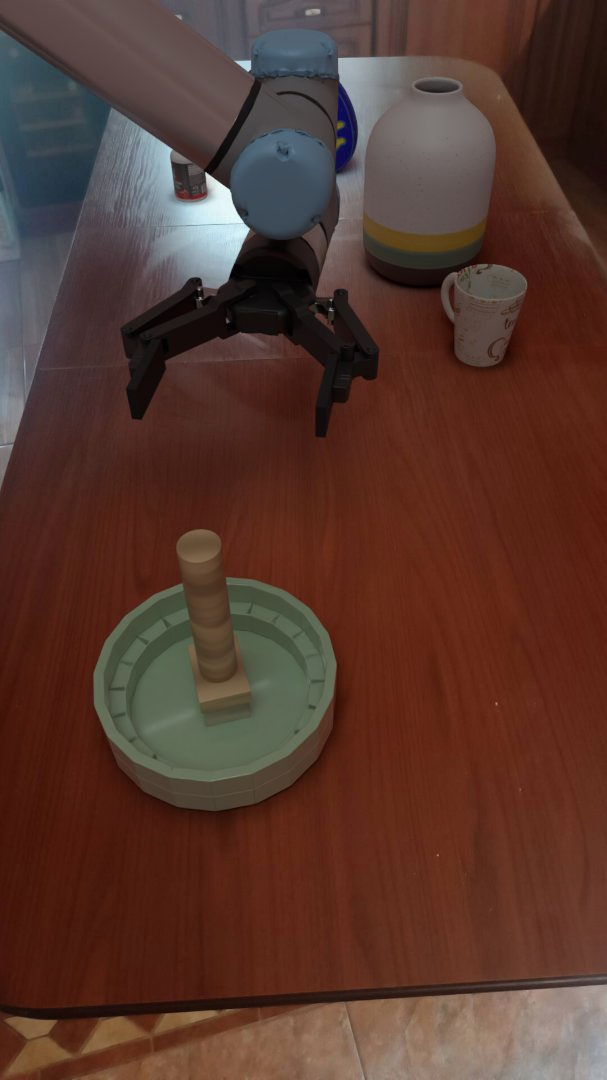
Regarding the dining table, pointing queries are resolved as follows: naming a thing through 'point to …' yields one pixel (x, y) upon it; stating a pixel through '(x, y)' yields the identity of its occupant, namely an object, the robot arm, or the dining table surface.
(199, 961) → the dining table surface
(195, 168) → the pill bottle
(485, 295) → the mug
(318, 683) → the bowl
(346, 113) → the ornament
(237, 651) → the brush
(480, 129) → the vase
